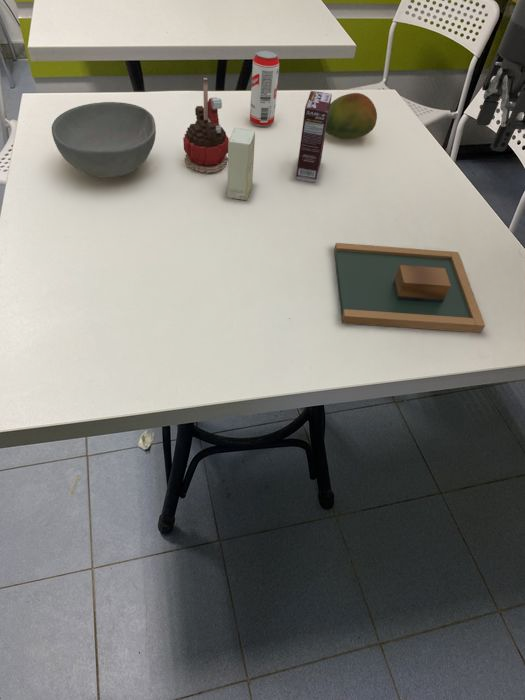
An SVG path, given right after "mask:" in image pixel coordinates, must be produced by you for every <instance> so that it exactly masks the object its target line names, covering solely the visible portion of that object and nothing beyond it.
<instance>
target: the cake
mask: <svg viewBox="0 0 525 700" xmlns="http://www.w3.org/2000/svg"><path fill="white" fill-rule="evenodd" d="M202 80H203V81H202V84H203V85H202V87H203V88H202V89H203V90H202V91H203V105H197V106H195V108H194V113H195V116H196V117H195V118H196V120H195V123H190V125H189V127H187V128H186V129H187V130H185V133H184V137H183V139H182V140H183V150H184V152H185V157H183V158H184V160H183V161H184V163H185V165H186V166H187V167H188V168H190V167H191V169H192V170H195V171H199V172H200V173H203V172H206V173H214V172H219V170H223V169H224V168H225V167H226V166H228V141H229V139H230V137H228V135H227V132H226V130H225V129H224V128H223V127H222V126H221V124H220V121H219V120H220V119H219V114H218V112H219V111H218V110H220V109H222V108H223V102H222V98H221V97H209V93H208V90H209V84H208V83H209V81H208V77H203V78H202Z"/></svg>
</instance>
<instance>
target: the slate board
mask: <svg viewBox="0 0 525 700" xmlns="http://www.w3.org/2000/svg"><path fill="white" fill-rule="evenodd" d="M333 251H334V261H335V269H336V271H335V272H336V278H337V287H338V296H339V304H340V313H341V321H342V322H341V323H342V324H349V325H350V324H351V325H365V326H377V327H395V328H407V329H408V328H409V329H423V330H426V329H427V330H436V331H437V330H438V331H439V330H440V331H453V332H464V333H465V332H466V333H467V332H469V333H482V332H483V330H484V328H485V327H486V324H485V321H484V319H483V316H482V313H481V310H480V307H479V305H478V302H477V300H476V297H475V294H474V291H473V289H472V285H471V284H470V283H471V282H470V281H469V278H468V275H467V272H466V269H465V266H464V264H463V261H462V259H461V256H460V253H459V251H450V250H437V249H425V248H424V249H422V248H413V247H412V248H411V247H397V246H386V245H385V246H384V245H383V246H382V245H373V244H360V243H359V244H358V243H347V242H346V243H345V242H336V243H335V245H334V248H333ZM400 265H407V266H420V267H434V268H445V270H446V273H447V276H448V279H449V282H450V285H451V287H450V289H449V291H448V293H447V295H446V297H445V299H444V301H443V302H442V303H440V302H426V301H411V300H398V299H397V296H396V291H395V287H394V279H395V276H396V274H397V271H398V269H399V266H400Z"/></svg>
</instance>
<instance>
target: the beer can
mask: <svg viewBox="0 0 525 700" xmlns="http://www.w3.org/2000/svg"><path fill="white" fill-rule="evenodd" d="M278 55H279V53H278V52H277V51H275V50H273V49H268V48H261V49H257V50H255V55H254V57H253V58H252V72H251V86H250V87H251V88H250V89H251V91H250V103H249V121H250V122H251V123H252V124H253V125H254V126H256V127H259V128H267V127H270V126H271V125H272V124H273V123H274V122H275V116H276V115H275V114H276V105H277V96H278V85H279V74H280V59H279V57H278Z"/></svg>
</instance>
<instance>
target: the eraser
mask: <svg viewBox="0 0 525 700" xmlns="http://www.w3.org/2000/svg"><path fill="white" fill-rule="evenodd" d="M394 287H395V291H396V296H397V299H398V300H411V301H426V302H440V303H442V302H443V301H444V299H445V297H446V295H447V293H448V291H449V289H450V287H451V285H450V282H449V279H448V276H447V273H446V270H445V268H434V267H420V266H407V265H400V266H399V269H398V271H397V274H396V276H395V279H394Z"/></svg>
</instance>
